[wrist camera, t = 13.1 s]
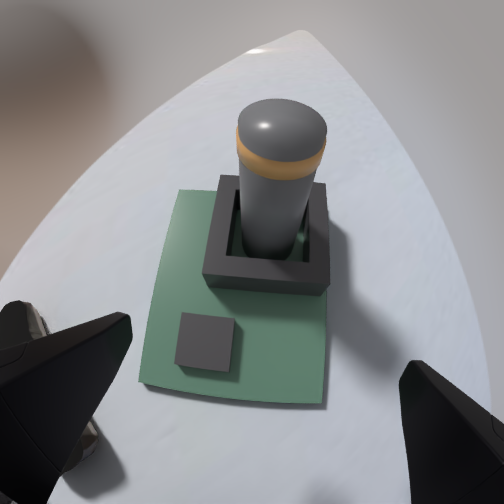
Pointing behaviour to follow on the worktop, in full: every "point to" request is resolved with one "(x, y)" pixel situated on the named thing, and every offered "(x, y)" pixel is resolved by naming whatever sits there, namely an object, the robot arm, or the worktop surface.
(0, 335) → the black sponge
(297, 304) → the header board
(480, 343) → the worktop surface
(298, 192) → the plug
